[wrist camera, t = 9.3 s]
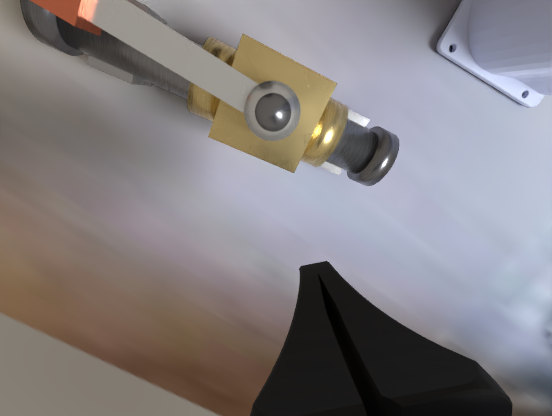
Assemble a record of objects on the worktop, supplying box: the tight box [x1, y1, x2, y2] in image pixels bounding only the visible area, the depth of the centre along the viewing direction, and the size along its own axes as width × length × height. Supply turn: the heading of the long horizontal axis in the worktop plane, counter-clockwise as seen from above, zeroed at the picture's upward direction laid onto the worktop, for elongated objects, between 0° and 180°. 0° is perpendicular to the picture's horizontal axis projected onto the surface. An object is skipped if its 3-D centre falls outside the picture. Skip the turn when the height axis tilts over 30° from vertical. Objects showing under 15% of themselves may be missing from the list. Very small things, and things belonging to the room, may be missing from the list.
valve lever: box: [30, 0, 301, 141], centre depth 11 cm, size 14×3×2 cm, turn 60°
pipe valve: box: [20, 0, 399, 186], centre depth 15 cm, size 20×5×6 cm, turn 66°
